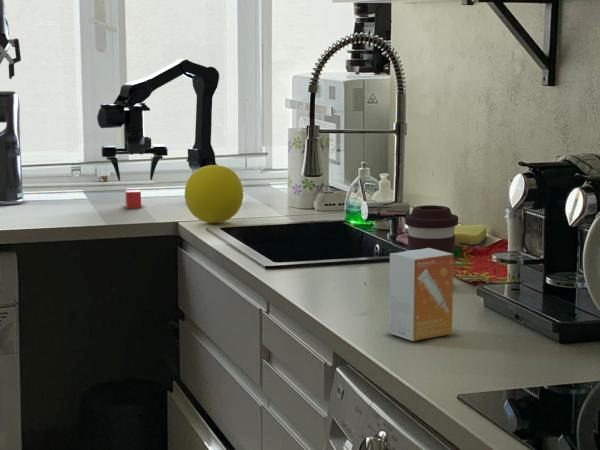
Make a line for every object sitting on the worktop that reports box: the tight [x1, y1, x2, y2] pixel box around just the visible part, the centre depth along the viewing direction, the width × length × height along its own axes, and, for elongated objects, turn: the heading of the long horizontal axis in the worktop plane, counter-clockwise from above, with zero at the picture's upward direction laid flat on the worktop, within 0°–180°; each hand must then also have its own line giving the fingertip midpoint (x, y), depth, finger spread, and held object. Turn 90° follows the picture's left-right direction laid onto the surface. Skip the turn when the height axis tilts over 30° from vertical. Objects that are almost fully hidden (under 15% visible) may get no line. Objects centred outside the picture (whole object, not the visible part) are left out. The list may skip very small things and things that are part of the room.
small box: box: [388, 248, 455, 342], centre depth 164 cm, size 8×6×13 cm
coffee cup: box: [404, 204, 459, 255], centre depth 197 cm, size 10×10×15 cm
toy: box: [184, 164, 244, 224], centre depth 272 cm, size 15×15×15 cm
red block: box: [124, 189, 142, 209], centre depth 302 cm, size 4×5×5 cm
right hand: (135, 180), depth 305 cm, fingers open, 9 cm apart
